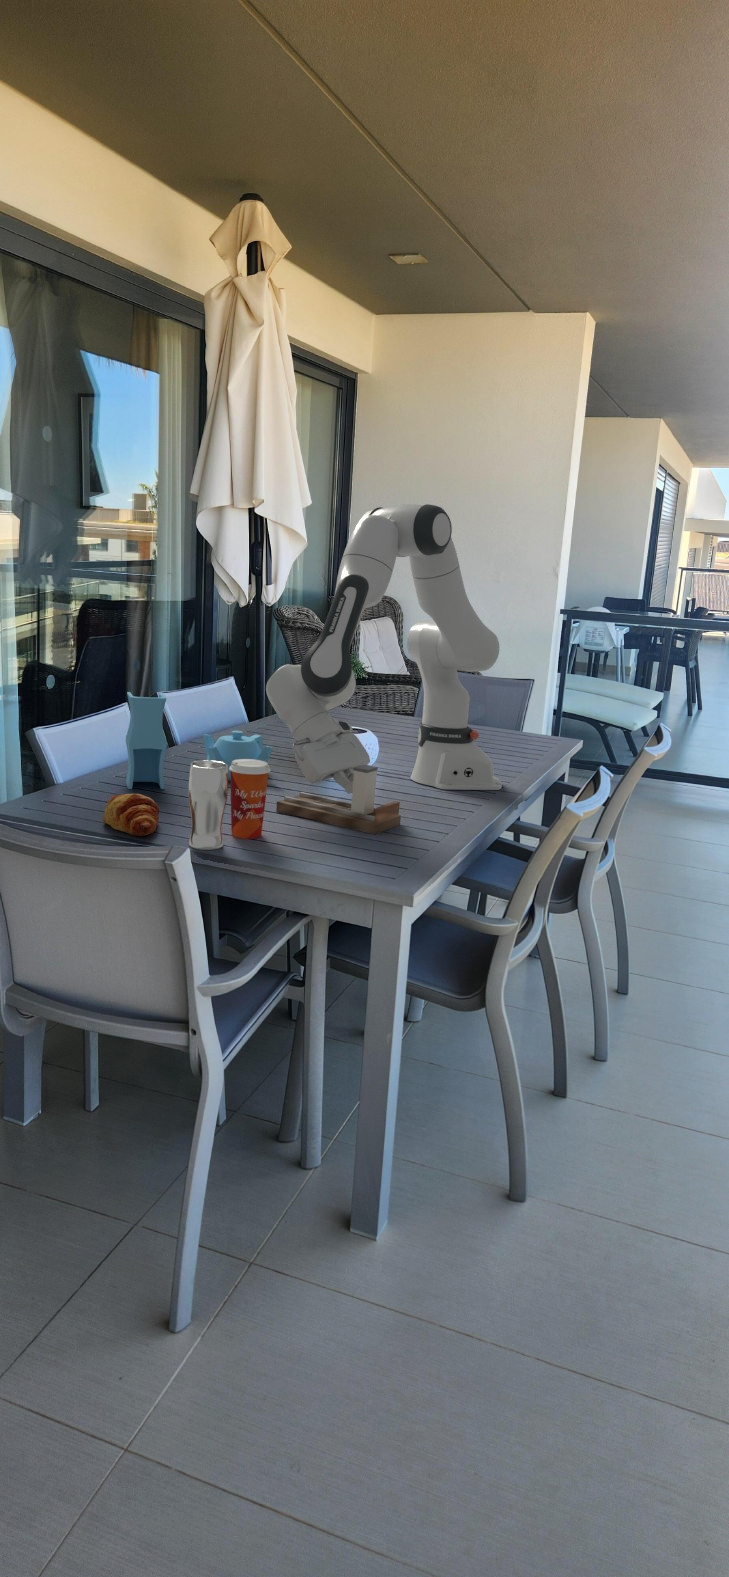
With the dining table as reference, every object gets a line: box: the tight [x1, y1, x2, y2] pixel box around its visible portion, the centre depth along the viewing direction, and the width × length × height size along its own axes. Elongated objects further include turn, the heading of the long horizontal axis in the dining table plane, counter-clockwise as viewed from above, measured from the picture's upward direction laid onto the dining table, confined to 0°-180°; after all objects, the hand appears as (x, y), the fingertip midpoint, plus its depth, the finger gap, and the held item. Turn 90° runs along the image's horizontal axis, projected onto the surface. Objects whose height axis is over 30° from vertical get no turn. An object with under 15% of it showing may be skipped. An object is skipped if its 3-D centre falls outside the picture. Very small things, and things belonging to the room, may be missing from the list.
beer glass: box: [188, 759, 229, 851], centre depth 178 cm, size 7×7×15 cm
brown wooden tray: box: [276, 791, 402, 835], centre depth 205 cm, size 24×10×5 cm, turn 59°
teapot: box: [202, 730, 274, 782], centre depth 234 cm, size 15×15×11 cm
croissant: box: [103, 793, 161, 837], centre depth 188 cm, size 21×10×8 cm, turn 29°
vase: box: [125, 691, 167, 790], centre depth 218 cm, size 8×8×20 cm
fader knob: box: [351, 764, 379, 815], centre depth 201 cm, size 3×4×9 cm
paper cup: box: [229, 759, 272, 840], centre depth 186 cm, size 8×8×14 cm
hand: (354, 791), depth 202 cm, fingers closed, pressing on fader knob
